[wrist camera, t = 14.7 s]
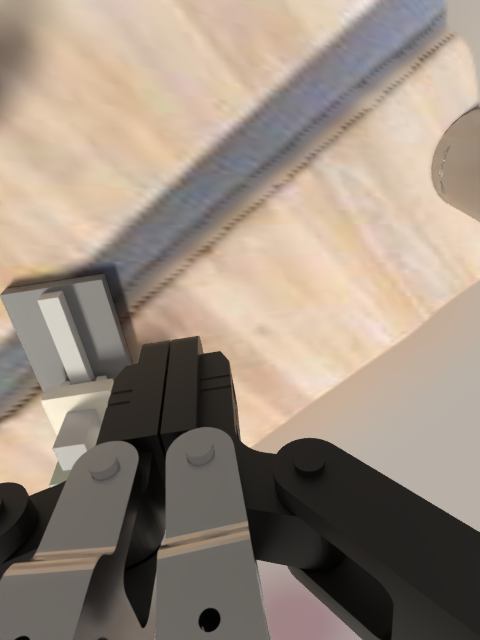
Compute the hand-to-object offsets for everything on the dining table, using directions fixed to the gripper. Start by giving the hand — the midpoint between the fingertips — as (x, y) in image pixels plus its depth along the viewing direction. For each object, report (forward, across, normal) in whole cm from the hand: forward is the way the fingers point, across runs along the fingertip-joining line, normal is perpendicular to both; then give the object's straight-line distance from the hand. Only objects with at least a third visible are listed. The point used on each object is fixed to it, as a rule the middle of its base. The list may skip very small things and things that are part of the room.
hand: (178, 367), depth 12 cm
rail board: (+32, +16, +19) cm, 40 cm away
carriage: (+30, +16, +23) cm, 41 cm away
